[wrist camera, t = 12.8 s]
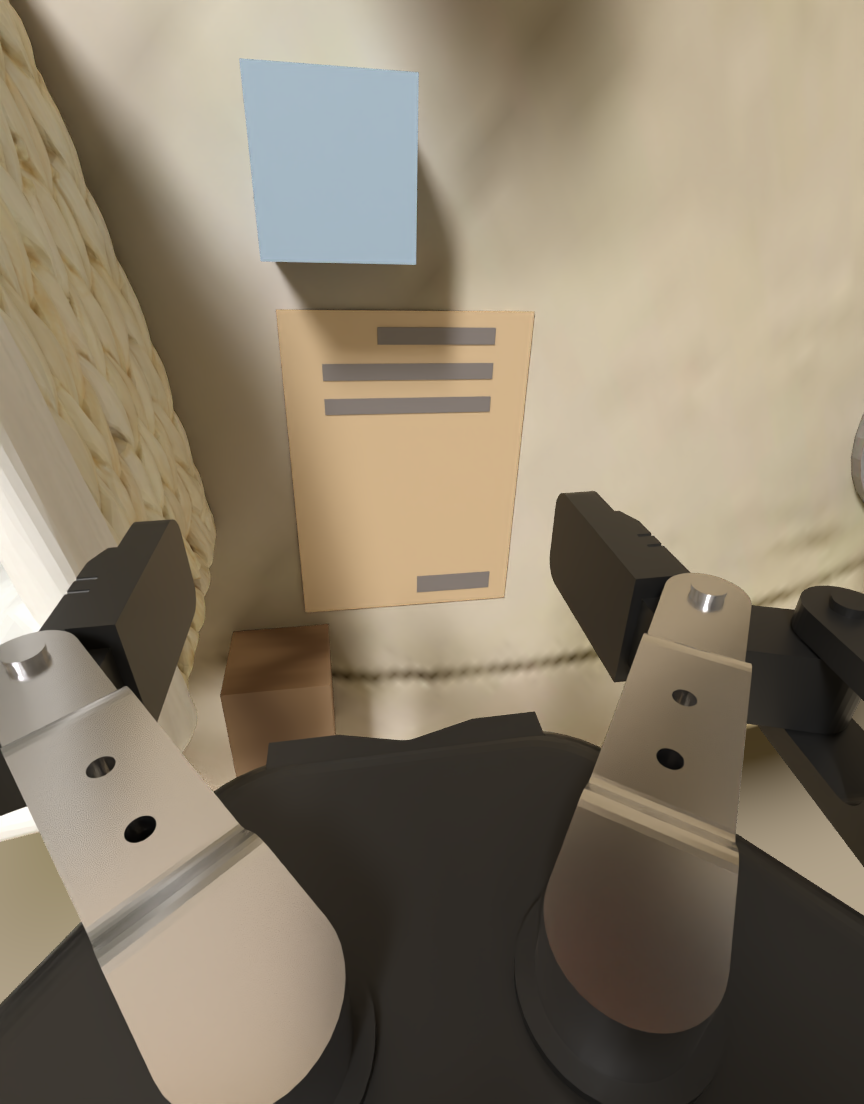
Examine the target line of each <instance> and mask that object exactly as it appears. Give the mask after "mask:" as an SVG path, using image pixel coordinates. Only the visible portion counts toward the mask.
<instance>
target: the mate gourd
mask: <svg viewBox="0 0 864 1104" xmlns="http://www.w3.org/2000/svg"><path fill="white" fill-rule="evenodd" d="M851 459H852V478H853V481H854V485H855V489H856V491H857V493H858V494H859V496H860V498H861V499H862V501H863V502H864V414H863V417H862V420H861V422H860V425H859V428H858V430H857V433H856V436H855V441H854V446H853V451H852V456H851Z"/></svg>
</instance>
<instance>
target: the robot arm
mask: <svg viewBox="0 0 864 1104" xmlns="http://www.w3.org/2000/svg"><path fill="white" fill-rule="evenodd" d="M550 569H551V575H552V578H553V581H554V583H555V585H556V587H557V588H558V590H559V592H560V593H561V595H562V596H563V598H564V600H565V601H566V603H567V605H568V606H569V608H570V610H571V611H572V613H573V615H574V616H575V618H576V620H577V621H578V623H579V625H580V626H581V628H582V630H583V631H584V633H585V635H586V636H587V638H588V640H589V641H590V643H591V645H592V646H593V648H594V650H595V651H596V653H597V655H598V656H599V658H600V660H601V661H602V663H603V665H604V666H605V668H606V670H607V671H608V673H609V675H610V676H611V678H612V680H613V681H614V682H622V681H626V683H625V685H624V688H623V691H622V694H621V696H620V699H619V702H618V704H617V707H616V710H615V713H614V715H613V718H612V721H611V724H610V726H609V729H608V732H607V734H606V737H605V740H604V743H603V745H602V748H600V747H598V746H596V745H594V744H591V743H589V742H586V741H583V740H581V739H578V738H574V737H571V736H567V735H563V734H558V733H552V732H544V731H542V728H541V726H540V723H539V721H538V719H537V716H536V714H535V712H527V713H518V714H510V715H501V716H493V717H484V718H476V719H471V720H468V721H465V722H462V723H459V724H456V725H453V726H450V727H447V728H444V729H441V730H438V731H435V732H432V733H430V734H427V735H424V736H421V737H418V738H415V739H411V740H391V739H379V738H368V737H356V736H345V735H331V736H323V737H314V738H306V739H297V740H289V741H280V742H272V743H269V745H268V754H267V762H266V765H264V766H262V767H259V768H256V769H254V770H252V771H249V772H247V773H245V774H243V775H240V776H239V777H237V778H235V779H233V780H231V781H230V782H228V783H226V784H224V785H223V786H221V787H220V788H219V789H217V790H216V791H214V792H213V791H212V790H211V788H210V787H209V786H208V785H207V784H206V782H205V781H204V780H203V779H202V777H201V776H200V775H199V774H198V772H197V771H196V770H195V769H194V767H193V766H192V765H191V764H190V762H189V761H188V760H187V759H186V757H185V756H184V755H183V754H182V753H181V751H180V750H179V749H178V748H177V746H176V745H175V744H174V743H173V741H172V740H171V739H170V738H169V736H168V735H167V734H166V733H165V731H164V730H163V729H162V728H161V727H160V725H159V724H158V723H157V722H158V719H159V716H160V713H161V710H162V707H163V704H164V701H165V699H166V696H167V693H168V690H169V687H170V684H171V681H172V678H173V675H174V672H175V670H176V667H177V664H178V661H179V658H180V655H181V652H182V649H183V646H184V643H185V641H186V638H187V635H188V632H189V629H190V626H191V623H192V620H193V617H194V614H195V610H196V591H195V585H194V581H193V577H192V573H191V569H190V565H189V561H188V557H187V553H186V549H185V546H184V542H183V538H182V534H181V530H180V527H179V525H178V523H177V522H176V521H175V520H174V519H171V520H156V521H142V522H134V523H133V524H132V525H131V527H130V528H129V530H128V531H127V533H126V534H125V536H124V537H123V539H122V540H121V542H120V544H119V545H118V547H112V548H107V549H106V550H104V551H103V552H101V553H100V554H98V555H97V556H95V557H94V558H93V559H91V560H90V561H88V562H87V563H86V565H85V566H84V568H83V569H82V570H81V572H80V573H79V575H78V576H77V577H76V581H74V582H73V583H72V585H71V586H70V587H69V589H68V590H67V594H64V596H63V597H62V599H61V600H60V602H59V603H58V604H57V606H56V607H55V609H54V610H53V611H52V613H51V614H50V616H49V617H48V619H47V620H46V621H45V623H44V624H43V626H42V627H41V628H40V630H39V631H38V632H33V633H29V634H26V635H22V636H20V637H17V638H14V639H12V640H9V641H7V642H5V643H3V644H1V645H0V816H2V815H5V814H8V813H10V812H13V811H16V810H19V809H21V808H24V807H28V809H29V811H30V813H31V815H32V818H33V820H34V822H35V824H36V826H37V828H38V830H39V832H40V835H41V837H42V839H43V841H44V843H45V845H46V847H47V849H48V852H49V854H50V856H51V858H52V860H53V862H54V864H55V866H56V869H57V870H58V873H59V875H60V877H61V879H62V881H63V883H64V885H65V887H66V890H67V892H68V894H69V896H70V898H71V900H72V903H73V905H74V907H75V909H76V911H77V913H78V915H79V917H80V919H81V922H80V923H79V924H78V925H77V926H76V927H75V928H74V930H73V931H72V932H71V933H70V934H69V935H68V936H67V937H66V938H65V939H64V940H63V941H62V942H61V943H60V944H59V945H58V946H57V947H56V948H55V949H54V950H53V951H52V952H51V953H50V954H49V955H48V956H47V957H46V958H45V959H44V960H43V961H42V962H41V963H40V964H39V965H38V966H37V967H36V968H35V969H34V970H33V971H32V972H31V973H30V974H29V975H28V976H27V977H26V978H25V979H24V980H23V981H22V983H21V984H20V985H19V986H18V987H17V988H16V989H15V990H14V991H13V992H12V993H11V994H10V995H9V996H8V997H7V998H6V999H5V1000H4V1001H3V1002H2V1003H1V1004H0V1104H864V915H862V914H860V913H859V912H857V911H856V910H854V909H853V908H851V907H849V906H848V905H846V904H845V903H843V902H842V901H840V900H839V899H837V898H835V897H834V896H832V895H831V894H829V893H828V892H826V891H825V890H823V889H822V888H820V887H818V886H817V885H815V884H814V883H812V882H811V881H809V880H807V879H806V878H804V877H803V876H801V875H800V874H798V873H797V872H795V871H793V870H792V869H790V868H789V867H787V866H786V865H784V864H783V863H781V862H780V861H778V860H777V859H775V858H773V857H772V856H770V855H769V854H767V853H766V852H764V851H763V850H761V849H759V848H758V847H756V846H755V845H753V844H752V843H750V842H749V841H747V840H745V839H744V838H742V837H741V836H739V835H738V834H736V823H737V813H738V804H739V794H740V783H741V774H742V763H743V754H744V744H745V734H746V725H747V724H754V725H758V726H759V728H760V729H761V731H762V732H763V733H764V735H765V736H766V737H767V739H768V740H769V741H770V743H771V744H772V745H773V747H774V748H775V749H776V751H777V752H778V753H779V755H780V756H781V757H782V759H783V760H784V761H785V763H786V764H787V765H788V767H789V768H790V769H791V771H792V772H793V773H794V774H795V776H796V777H797V779H798V780H799V781H800V783H801V784H802V785H803V786H804V788H805V789H806V791H807V792H808V793H809V795H810V796H811V797H812V799H813V800H814V801H815V802H816V804H817V805H818V807H819V808H820V809H821V811H822V812H823V813H824V815H825V816H826V817H827V819H828V820H829V821H830V823H831V824H832V825H833V827H834V828H835V829H836V831H837V832H838V833H839V835H840V836H841V837H842V839H843V840H844V841H845V843H846V844H847V845H848V847H849V848H850V849H851V851H852V852H853V853H854V855H855V856H856V857H857V859H858V860H859V861H860V863H861V864H862V865H863V867H864V730H863V729H862V728H861V727H860V726H859V725H858V724H857V723H856V722H855V721H854V720H853V719H852V716H853V714H854V712H855V710H856V708H857V706H858V704H859V702H860V700H861V699H862V700H863V701H864V594H862V593H860V592H856V591H853V590H850V589H846V588H841V587H835V586H814V587H810V588H808V589H806V590H804V591H803V592H802V593H801V595H800V598H799V601H798V603H797V606H796V608H795V610H791V609H781V608H772V607H762V606H754V605H752V604H751V600H750V597H749V596H748V595H747V593H746V592H745V591H744V590H742V589H741V588H740V587H738V586H737V585H735V584H733V583H731V582H729V581H727V580H725V579H722V578H719V577H716V576H712V575H708V574H701V573H690V572H689V571H688V570H687V569H686V568H685V567H684V566H683V565H682V564H681V563H680V562H679V561H678V560H677V559H676V558H675V557H674V556H673V555H672V554H671V553H670V552H669V551H668V550H667V549H666V548H665V547H664V546H661V543H660V542H659V541H658V540H657V539H656V538H655V537H654V536H651V533H650V532H649V531H648V530H647V529H646V528H645V527H644V526H643V525H642V524H641V523H640V522H639V521H638V520H636V519H634V518H632V517H630V516H628V515H626V514H624V513H622V512H620V511H614V510H613V509H612V508H611V507H610V506H609V505H608V504H607V503H606V502H605V501H604V500H603V499H602V498H601V496H600V495H599V494H598V493H597V492H595V491H589V492H574V493H561V494H560V495H559V496H558V498H557V502H556V507H555V516H554V525H553V533H552V542H551V550H550Z"/></svg>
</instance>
